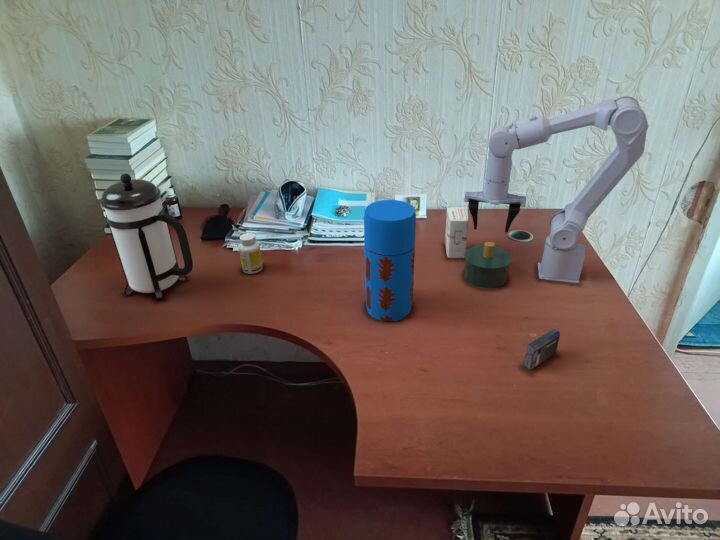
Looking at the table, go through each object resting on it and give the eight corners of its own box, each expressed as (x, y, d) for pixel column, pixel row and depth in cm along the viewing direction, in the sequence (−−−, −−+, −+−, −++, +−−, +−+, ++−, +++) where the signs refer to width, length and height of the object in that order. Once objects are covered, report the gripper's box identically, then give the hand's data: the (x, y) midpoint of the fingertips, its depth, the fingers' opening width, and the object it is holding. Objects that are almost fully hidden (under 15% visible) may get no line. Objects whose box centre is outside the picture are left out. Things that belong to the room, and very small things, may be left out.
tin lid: (511, 251, 126) (513, 235, 123) (511, 274, 116) (513, 258, 114) (466, 246, 128) (467, 231, 126) (462, 269, 119) (463, 252, 117)
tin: (506, 270, 128) (509, 250, 125) (505, 292, 120) (509, 271, 117) (465, 265, 131) (467, 245, 128) (462, 286, 122) (464, 266, 119)
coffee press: (125, 311, 116) (85, 192, 101) (125, 278, 129) (89, 168, 113) (200, 294, 122) (173, 179, 106) (193, 264, 134) (168, 157, 119)
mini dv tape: (529, 372, 96) (534, 348, 93) (523, 368, 97) (527, 344, 94) (555, 355, 100) (560, 331, 97) (548, 351, 101) (554, 328, 98)
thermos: (409, 324, 110) (412, 223, 97) (361, 319, 112) (359, 219, 99) (414, 297, 119) (418, 200, 106) (370, 292, 121) (369, 197, 108)
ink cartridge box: (443, 244, 141) (447, 196, 133) (461, 244, 141) (465, 196, 133) (447, 259, 134) (450, 209, 126) (465, 259, 133) (470, 209, 126)
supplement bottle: (265, 264, 134) (260, 231, 129) (259, 274, 129) (254, 241, 124) (245, 263, 134) (240, 231, 129) (239, 274, 130) (233, 241, 125)
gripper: (465, 182, 117) (460, 233, 124) (529, 187, 113) (520, 239, 121) (467, 171, 123) (462, 221, 130) (528, 176, 119) (520, 226, 126)
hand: (490, 229), depth 126 cm, fingers open, 7 cm apart
